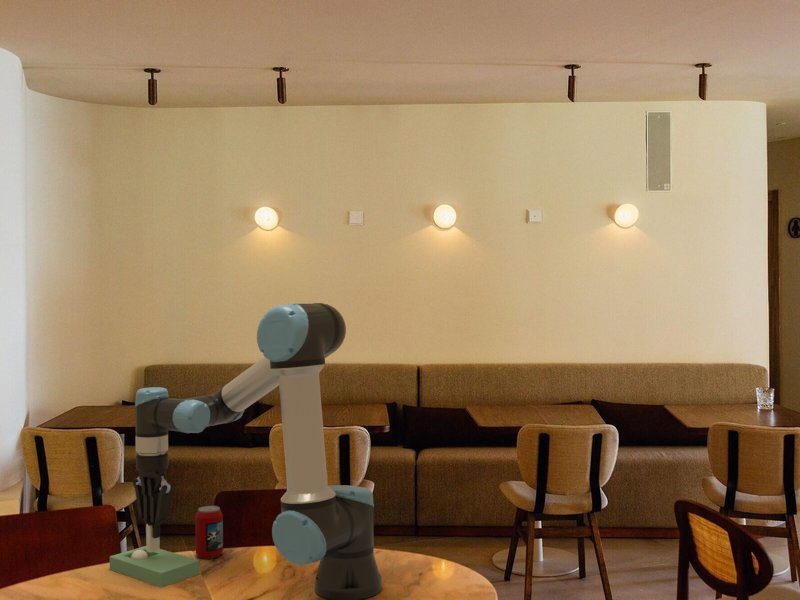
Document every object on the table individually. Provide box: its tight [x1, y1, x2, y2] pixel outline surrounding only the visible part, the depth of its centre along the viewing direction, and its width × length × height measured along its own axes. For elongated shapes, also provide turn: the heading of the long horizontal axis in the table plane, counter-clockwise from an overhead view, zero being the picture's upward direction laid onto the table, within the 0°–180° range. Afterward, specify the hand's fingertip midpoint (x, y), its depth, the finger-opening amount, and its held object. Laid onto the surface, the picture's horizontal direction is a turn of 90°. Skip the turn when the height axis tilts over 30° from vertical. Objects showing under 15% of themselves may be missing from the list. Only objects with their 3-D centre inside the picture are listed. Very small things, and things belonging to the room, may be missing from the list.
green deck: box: [109, 545, 201, 588], centre depth 204 cm, size 20×11×3 cm, turn 53°
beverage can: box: [194, 505, 224, 560], centre depth 216 cm, size 7×7×12 cm
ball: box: [131, 550, 148, 560], centre depth 207 cm, size 4×4×4 cm
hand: (153, 550), depth 204 cm, fingers closed
